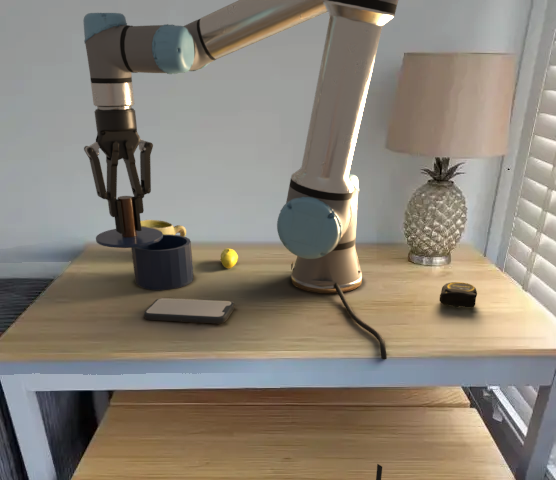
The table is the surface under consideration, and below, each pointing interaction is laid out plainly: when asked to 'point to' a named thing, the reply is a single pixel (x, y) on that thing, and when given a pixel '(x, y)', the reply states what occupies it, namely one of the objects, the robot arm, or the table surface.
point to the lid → (129, 230)
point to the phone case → (189, 310)
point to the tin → (164, 263)
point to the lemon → (228, 258)
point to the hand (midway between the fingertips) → (128, 230)
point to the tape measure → (458, 295)
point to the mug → (164, 227)
